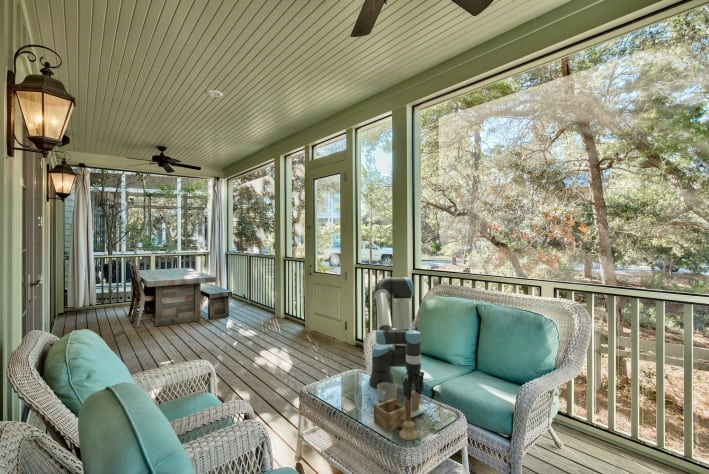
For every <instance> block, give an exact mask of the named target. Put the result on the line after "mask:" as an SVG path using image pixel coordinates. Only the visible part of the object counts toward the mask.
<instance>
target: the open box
mask: <svg viewBox="0 0 709 474" xmlns="http://www.w3.org/2000/svg"><path fill="white" fill-rule="evenodd" d="M397 401H398V398H397V397H396V398H393V399H390V400H387V401H385V402H380V403H377V404H374V405H373V422H375V423H376V424H377V425H379V426H380V427H381V428H383V430H385V431H387V432H391V431H393V430H396V429H398V428H401V427H403V424H404V422H405V421H407V419H406V416H407V414H406V410H405V407H403V405H401V404H400V403H398V402H397ZM410 421H411V413H410ZM411 422H412V421H411Z"/></svg>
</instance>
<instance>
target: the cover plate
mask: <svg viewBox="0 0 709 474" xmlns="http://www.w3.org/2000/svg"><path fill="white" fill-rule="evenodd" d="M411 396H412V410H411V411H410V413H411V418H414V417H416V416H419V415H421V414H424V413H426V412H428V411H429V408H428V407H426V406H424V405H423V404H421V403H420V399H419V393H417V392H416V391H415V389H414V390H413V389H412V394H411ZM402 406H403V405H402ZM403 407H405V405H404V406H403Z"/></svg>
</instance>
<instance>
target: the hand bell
mask: <svg viewBox="0 0 709 474" xmlns="http://www.w3.org/2000/svg"><path fill="white" fill-rule="evenodd" d="M404 406H405V410H406V414H407V416H406V419H407V421H405V422H404V424H403V426H402V429H401V430H400V431H399V432H398V433H399V436H400V438H401V439H403V440H404V441H413V440H416V439H417V438H418V433H417V431H416V430H415V427H414V423H413V421H410V411H411V404H410V402H409V400H407V399H406V400H405V405H404Z"/></svg>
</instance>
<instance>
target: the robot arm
mask: <svg viewBox="0 0 709 474" xmlns="http://www.w3.org/2000/svg"><path fill="white" fill-rule="evenodd" d="M414 289H415V288H414V284H413V280H412V278H410V277H409V276H408V277H404V276H401V277H400V276H399V277H396V276H395V277H391V276H390V277H389V276H388V277H384V278H382V279H380V280H379V281H378V283H377V284H376V286H374V290H373V296H374V299H375V301H376V302H375V303H376V312H377V313H376V314H377V315H376V316H377V324H378V329H376V330H375V342H376V343H375V344H376V345H375V346H373V347H372V349H371V373H370V377H369V380H368V385H369V386H370V387H372V388H374V389H377V385H378V384H379V383H384V382H387V383H392V384H394V383H395V380H394V377H393V374H392V368H405V370H406V374H405V375H402V376H401V379H402V386H403V387H402V389H403V393H402V395H403V396H405V397H406V400H409V402H410V404H411V410H412V396H411V394H412V391H413V387H414V391H416V392H417V393H419V400H420V398H421V397H420V396H421V395H422V393H423V392H424V375H425V372H424V371H421V370H422V364H421V361H422V359H421V358H422V357H421V349H422V347H421V345H422V344H421V343H422V342H421V341H422V337H421V336H422V335H421V332H420V331H418V330H414V329H413V328H411V321H410V317H411V316H410V314H411V313H410V301H411V300H412V297H413V296H415V295H414V294H415V290H414ZM390 297H392V300H393V301H394V302H395V304H394V305H395V329H393V325H392V324H393V323H392V315H391V308H390V307H391V306H390V299H389V298H390ZM391 345H393V346H391ZM394 385H395V384H394Z"/></svg>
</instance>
